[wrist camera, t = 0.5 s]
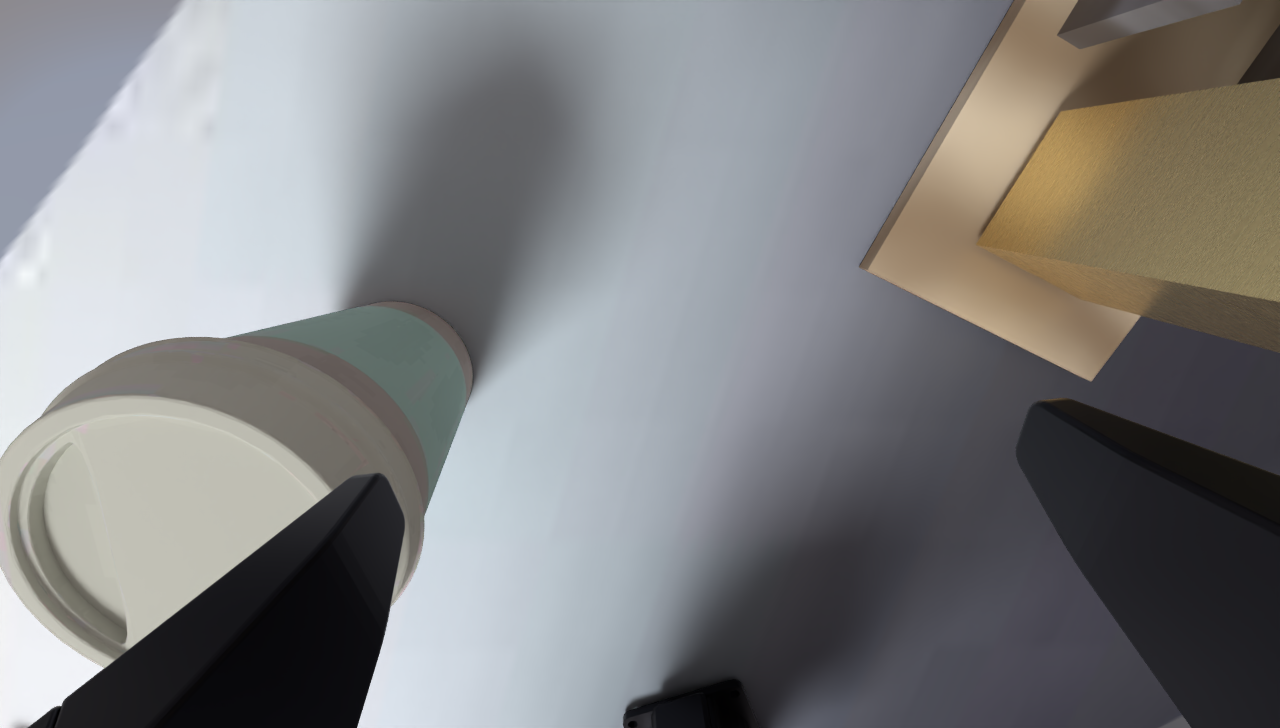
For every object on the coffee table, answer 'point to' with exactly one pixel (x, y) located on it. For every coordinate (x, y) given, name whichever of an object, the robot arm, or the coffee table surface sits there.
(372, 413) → the coffee cup
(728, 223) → the coffee table surface
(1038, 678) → the coffee table surface
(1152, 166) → the latch bar
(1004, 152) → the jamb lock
